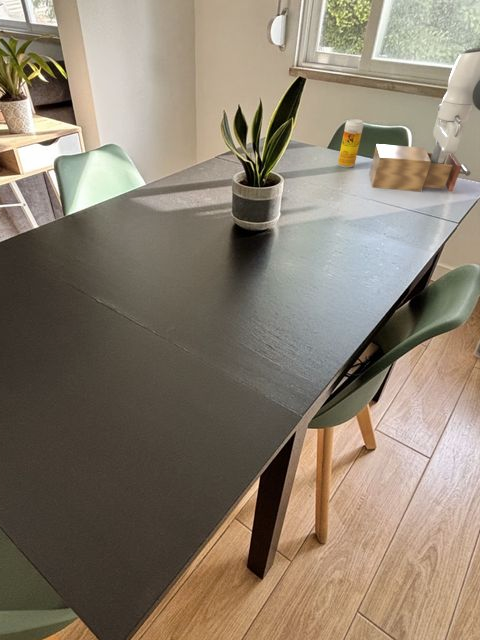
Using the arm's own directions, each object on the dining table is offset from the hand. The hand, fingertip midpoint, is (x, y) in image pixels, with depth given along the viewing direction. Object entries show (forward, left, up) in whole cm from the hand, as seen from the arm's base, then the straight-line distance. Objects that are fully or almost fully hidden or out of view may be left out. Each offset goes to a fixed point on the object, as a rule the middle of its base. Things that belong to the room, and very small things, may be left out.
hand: (438, 159), depth 139 cm
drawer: (-1, 0, -7) cm, 7 cm away
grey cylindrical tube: (0, 0, -5) cm, 5 cm away
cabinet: (+12, 0, -8) cm, 14 cm away
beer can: (+28, -13, -8) cm, 32 cm away
